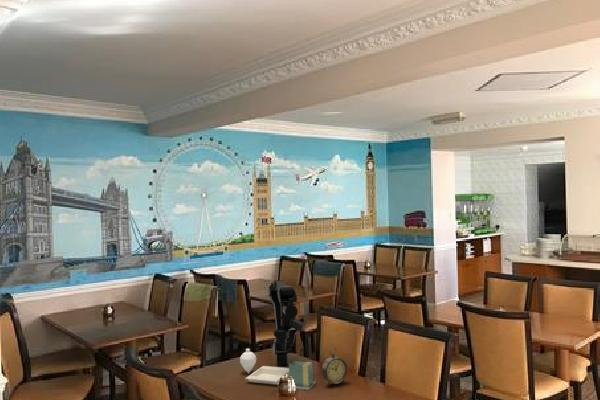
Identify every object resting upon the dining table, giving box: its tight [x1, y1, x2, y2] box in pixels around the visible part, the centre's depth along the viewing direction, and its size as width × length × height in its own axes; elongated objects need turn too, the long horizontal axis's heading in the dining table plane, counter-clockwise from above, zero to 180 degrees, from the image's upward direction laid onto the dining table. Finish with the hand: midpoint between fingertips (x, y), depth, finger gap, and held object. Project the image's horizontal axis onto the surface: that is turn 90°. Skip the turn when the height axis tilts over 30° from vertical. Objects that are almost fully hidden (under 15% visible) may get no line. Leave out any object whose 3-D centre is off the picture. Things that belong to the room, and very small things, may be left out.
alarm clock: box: [321, 346, 348, 388], centre depth 216 cm, size 11×5×16 cm, turn 117°
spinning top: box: [239, 348, 257, 374], centre depth 234 cm, size 8×8×12 cm
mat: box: [295, 380, 317, 392], centre depth 216 cm, size 10×10×1 cm
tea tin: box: [288, 360, 314, 387], centre depth 217 cm, size 5×9×9 cm, turn 69°
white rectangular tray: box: [245, 365, 289, 386], centre depth 225 cm, size 18×15×3 cm
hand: (288, 347), depth 231 cm, fingers open, 9 cm apart
